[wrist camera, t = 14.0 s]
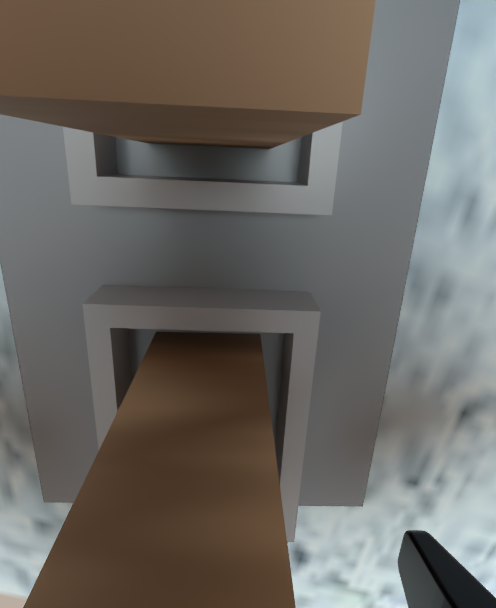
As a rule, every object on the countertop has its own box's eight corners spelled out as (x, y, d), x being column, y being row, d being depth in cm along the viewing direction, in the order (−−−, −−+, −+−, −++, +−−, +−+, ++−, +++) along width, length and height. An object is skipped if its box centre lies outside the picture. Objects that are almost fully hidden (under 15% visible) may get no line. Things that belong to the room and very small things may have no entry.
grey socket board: (470, -166, 8) (561, -293, 6) (354, 483, 15) (377, 546, 12) (-55, -208, 8) (-177, -362, 6) (56, 479, 14) (20, 542, 12)
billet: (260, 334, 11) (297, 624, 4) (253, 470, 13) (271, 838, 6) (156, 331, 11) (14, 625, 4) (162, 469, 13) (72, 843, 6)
